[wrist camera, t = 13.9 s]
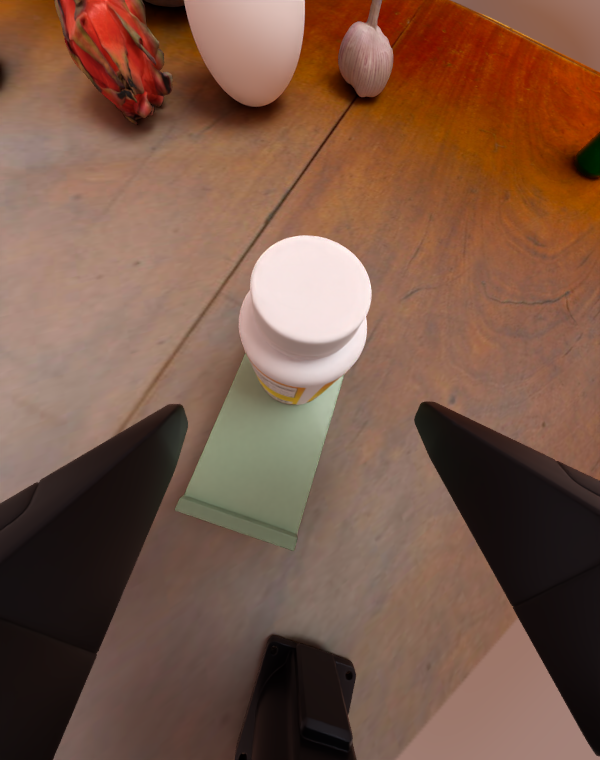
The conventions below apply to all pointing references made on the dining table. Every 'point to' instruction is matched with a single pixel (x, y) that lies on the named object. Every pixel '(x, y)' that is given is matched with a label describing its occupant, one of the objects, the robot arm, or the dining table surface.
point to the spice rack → (259, 461)
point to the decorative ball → (249, 44)
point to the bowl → (167, 2)
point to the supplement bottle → (304, 317)
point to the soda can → (589, 158)
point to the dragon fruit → (116, 52)
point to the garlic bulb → (366, 55)
